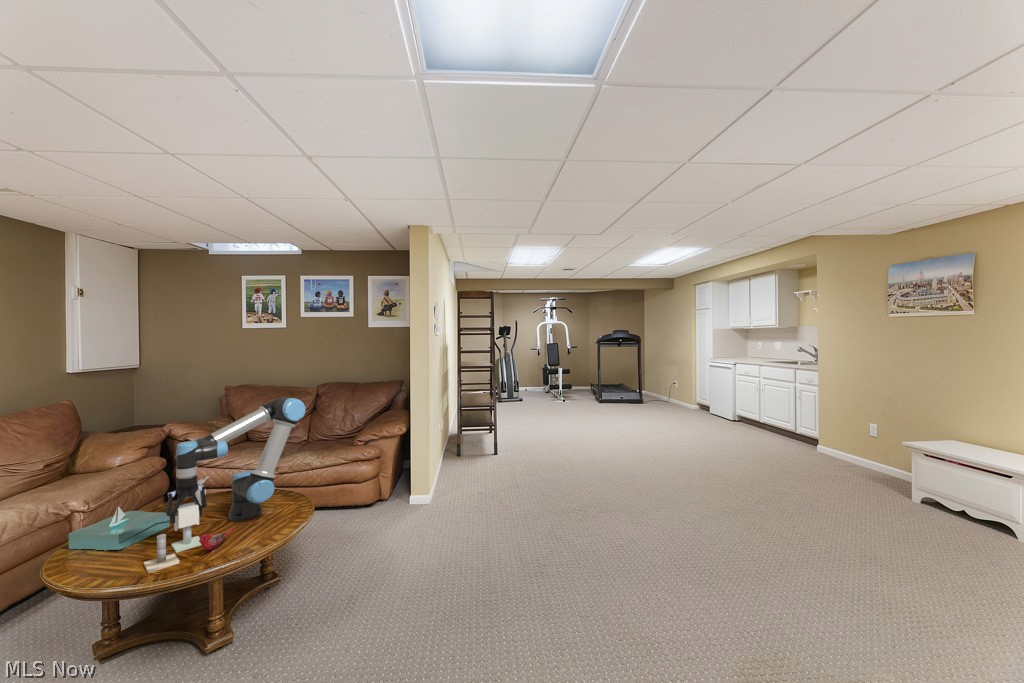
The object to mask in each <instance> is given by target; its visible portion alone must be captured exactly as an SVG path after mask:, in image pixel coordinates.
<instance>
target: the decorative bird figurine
mask: <svg viewBox="0 0 1024 683" xmlns="http://www.w3.org/2000/svg"><path fill="white" fill-rule="evenodd" d="M233 530H235V527H233V528H232V529H229V530H228V531H227V532H226V533H217V534H212V535H211V534H209V533H204V534H202V535H201V536H199V538H200V540H199V542H200V543H201V545H200V546H202V548H203V550H206V551H210V552H208V555H210V554H213V553H214V552H216V551H217V550H218V547H219V546H220V545H221V544H222V543H223V542H224V541H225V540H226V538H227V536H228V535H230V534H231V532H232V531H233Z"/></svg>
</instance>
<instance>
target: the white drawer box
mask: <svg viewBox="0 0 1024 683" xmlns="http://www.w3.org/2000/svg"><path fill="white" fill-rule="evenodd" d="M176 514H177V516H178V529H183V527H187V526H191V527H192V526H195V525H197V524H199V525H200V517H199V506H198V505H196V504H195V502H194V501H192V502H188V503H187V502H186V503H183V504H180V506H179V508H178V511H177V513H176Z"/></svg>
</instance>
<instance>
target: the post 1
mask: <svg viewBox="0 0 1024 683" xmlns="http://www.w3.org/2000/svg"><path fill="white" fill-rule="evenodd" d="M178 564H180V559H179V558H178V556H177V555H176V553H175V552H173V553H170V554H167V534H166V533H161V534H158V535H157V536H156V558H152V559H150V560H147V561H146V560H145V561H143V566H144V568H145V570H146V573H147V574H150V573H153V572H157V571H160V570H164V569H165V568H169V567H172V566H176V565H178Z"/></svg>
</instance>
